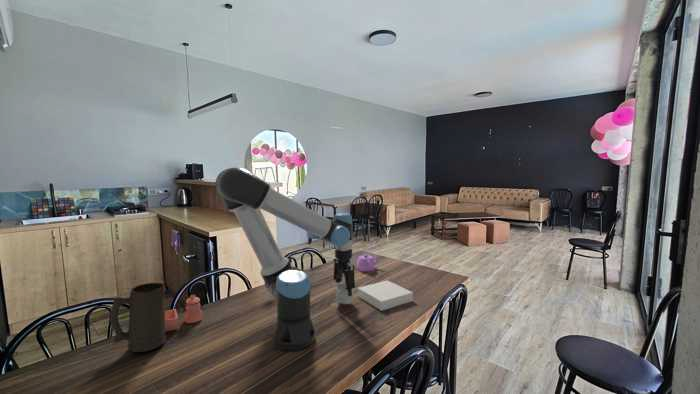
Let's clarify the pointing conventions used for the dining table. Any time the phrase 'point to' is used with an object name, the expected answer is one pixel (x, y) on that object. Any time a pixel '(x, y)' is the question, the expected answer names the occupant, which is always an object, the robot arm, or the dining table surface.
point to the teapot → (366, 263)
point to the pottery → (190, 316)
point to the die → (343, 294)
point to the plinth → (385, 295)
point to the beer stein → (142, 317)
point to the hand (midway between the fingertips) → (343, 299)
